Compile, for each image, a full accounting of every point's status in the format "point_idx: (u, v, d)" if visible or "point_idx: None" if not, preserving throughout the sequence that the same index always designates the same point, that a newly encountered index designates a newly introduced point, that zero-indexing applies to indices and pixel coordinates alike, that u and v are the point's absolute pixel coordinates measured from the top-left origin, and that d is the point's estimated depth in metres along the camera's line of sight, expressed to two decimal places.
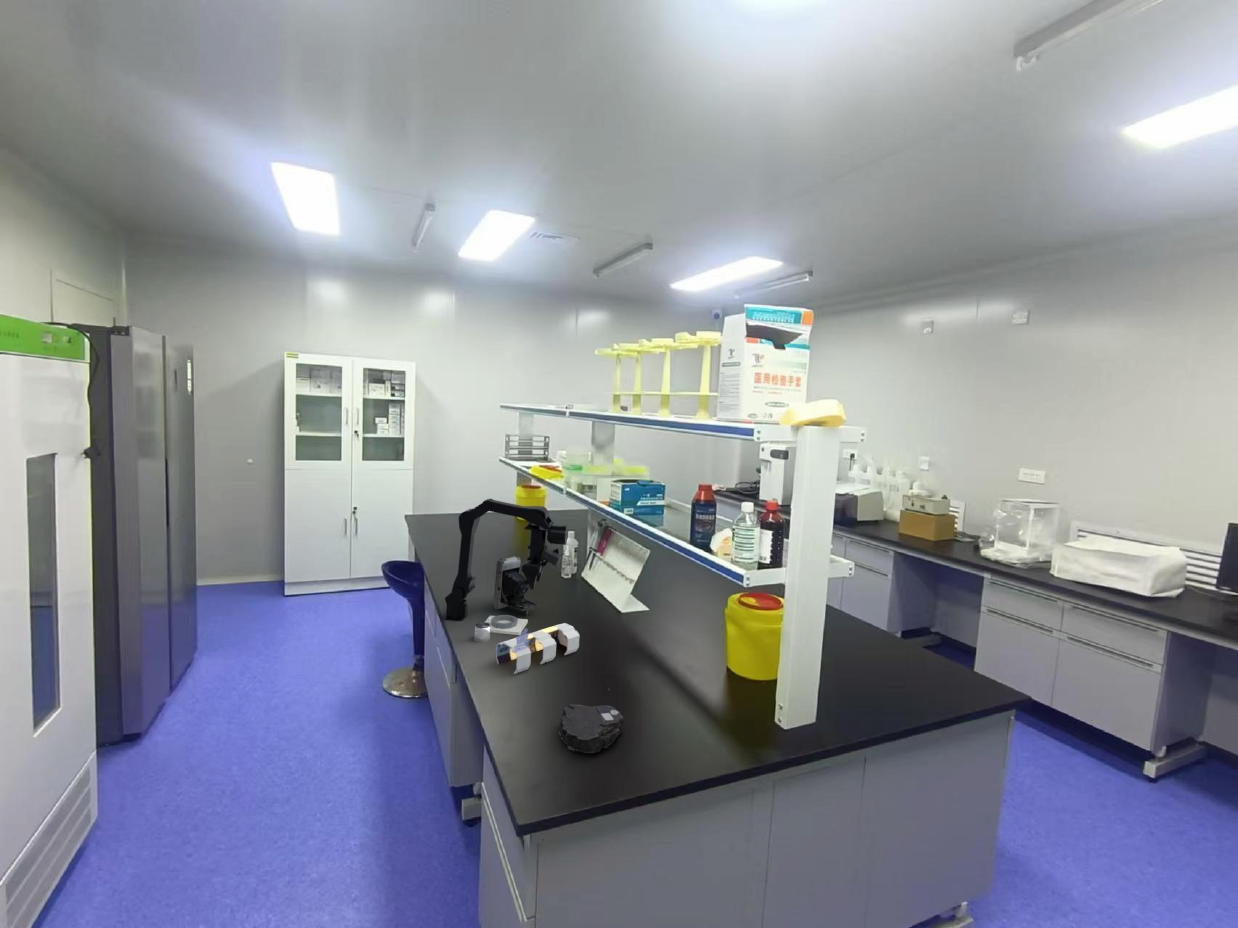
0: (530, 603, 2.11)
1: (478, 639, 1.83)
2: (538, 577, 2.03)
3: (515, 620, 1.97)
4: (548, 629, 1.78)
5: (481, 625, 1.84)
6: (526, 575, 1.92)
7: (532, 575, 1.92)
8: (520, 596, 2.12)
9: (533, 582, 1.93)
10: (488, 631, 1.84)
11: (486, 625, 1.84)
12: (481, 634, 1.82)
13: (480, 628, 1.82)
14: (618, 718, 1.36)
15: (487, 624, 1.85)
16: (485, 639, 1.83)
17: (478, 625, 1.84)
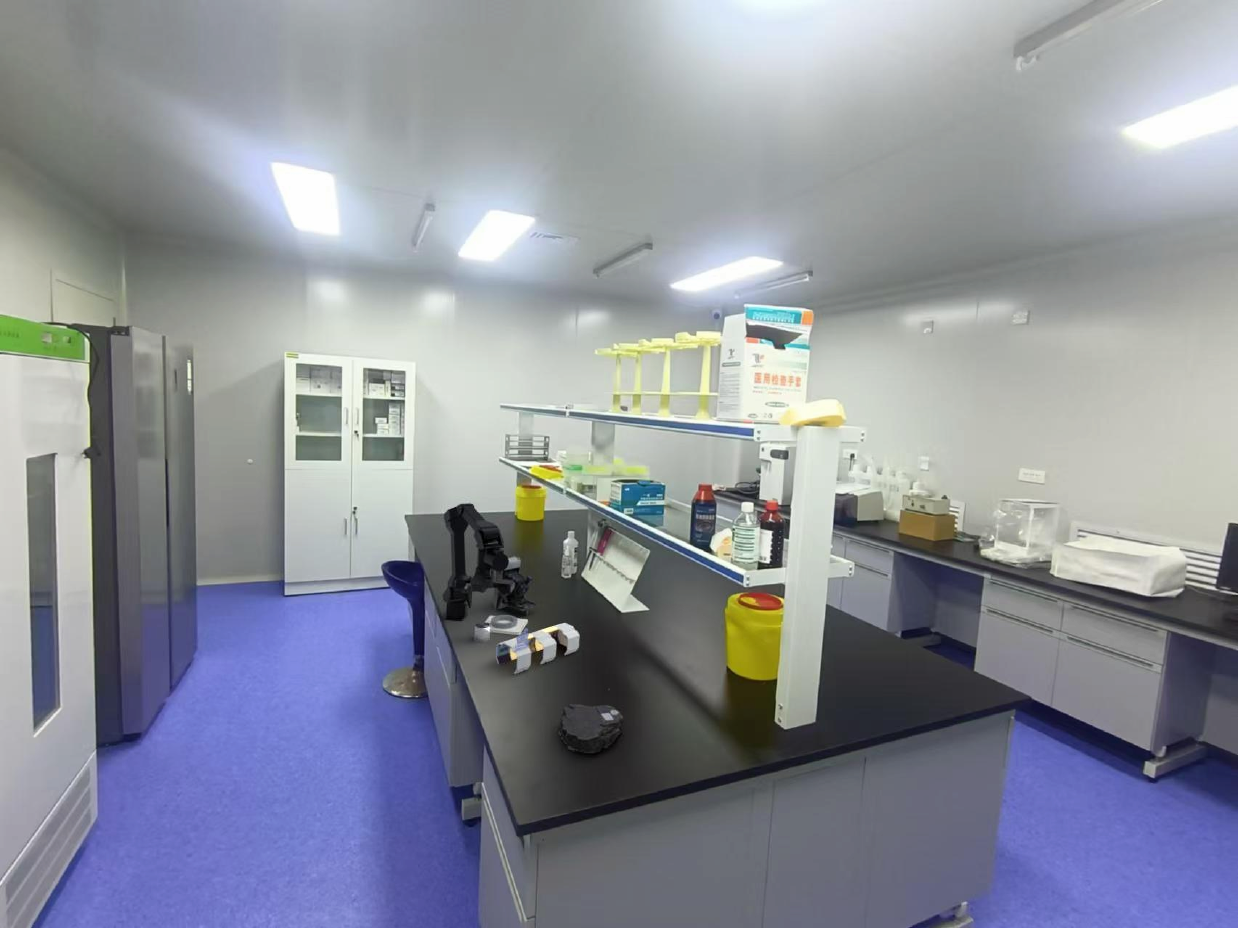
0: (530, 603, 2.11)
1: (478, 639, 1.83)
2: None
3: (515, 620, 1.97)
4: (548, 629, 1.78)
5: (481, 625, 1.84)
6: None
7: None
8: (520, 596, 2.12)
9: None
10: (488, 631, 1.84)
11: (486, 625, 1.84)
12: (481, 634, 1.82)
13: (480, 628, 1.82)
14: (618, 718, 1.36)
15: (487, 624, 1.85)
16: (485, 639, 1.83)
17: (478, 625, 1.84)
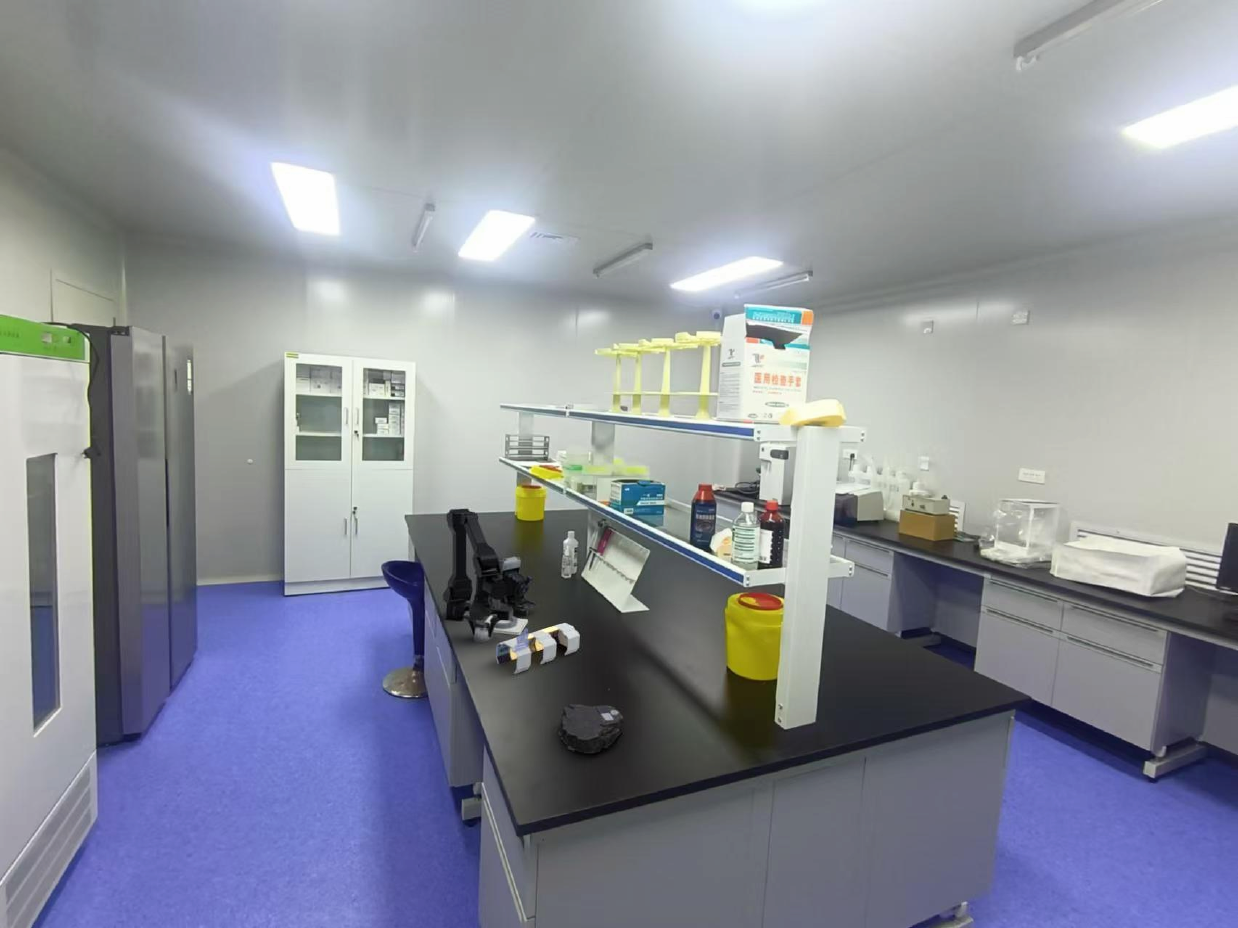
0: (530, 603, 2.11)
1: (478, 639, 1.83)
2: None
3: (515, 620, 1.97)
4: (548, 629, 1.78)
5: (481, 625, 1.84)
6: None
7: None
8: (520, 596, 2.12)
9: None
10: (488, 631, 1.84)
11: (486, 625, 1.84)
12: (481, 634, 1.82)
13: (480, 628, 1.82)
14: (618, 718, 1.36)
15: (487, 624, 1.85)
16: (485, 639, 1.83)
17: (478, 625, 1.84)
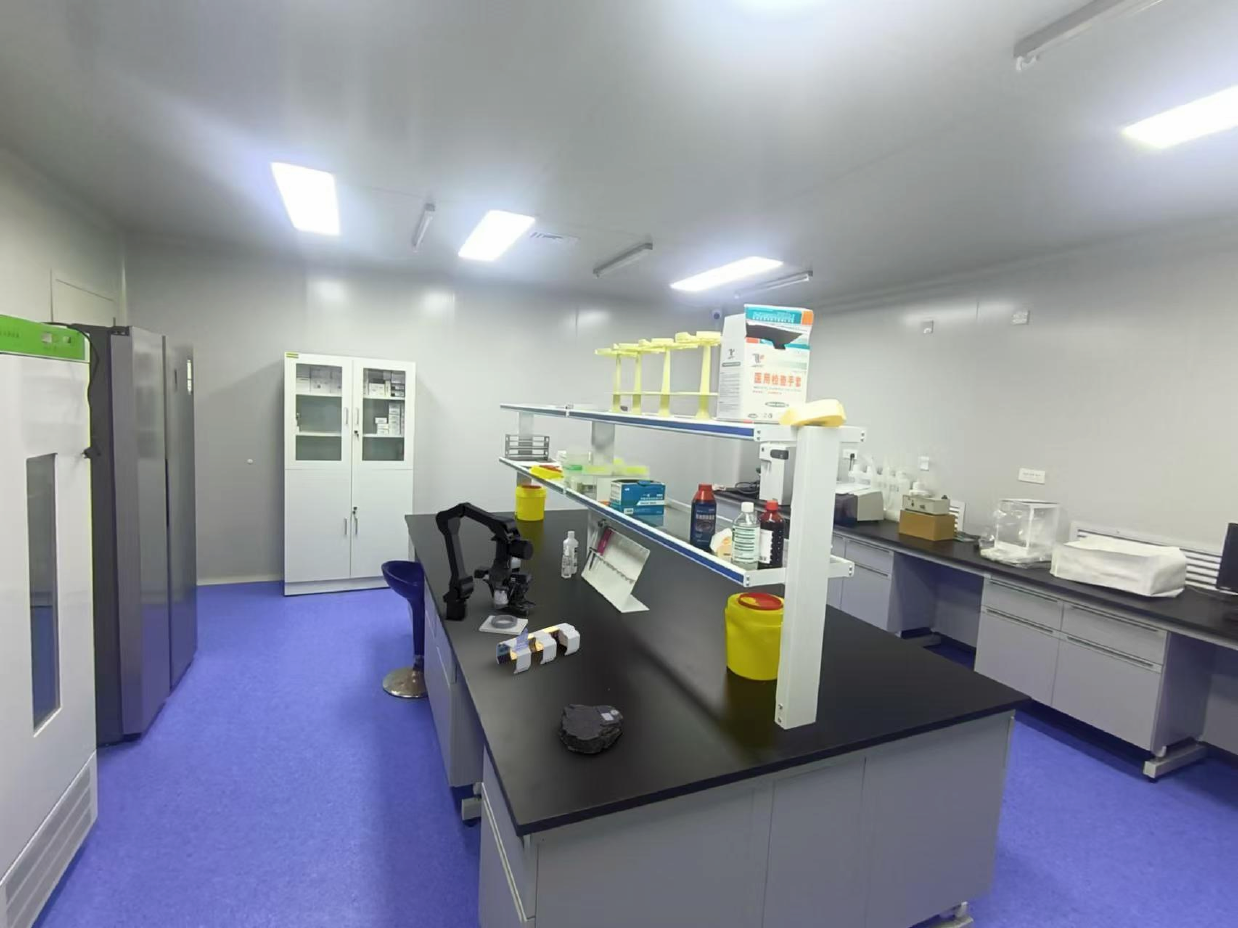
0: (530, 603, 2.11)
1: (496, 602, 1.91)
2: None
3: (515, 620, 1.97)
4: (548, 629, 1.78)
5: (500, 588, 1.92)
6: None
7: None
8: (520, 596, 2.12)
9: None
10: (506, 594, 1.92)
11: (505, 588, 1.92)
12: (499, 596, 1.90)
13: (499, 591, 1.90)
14: (618, 718, 1.36)
15: (506, 587, 1.93)
16: (504, 601, 1.91)
17: (497, 588, 1.92)
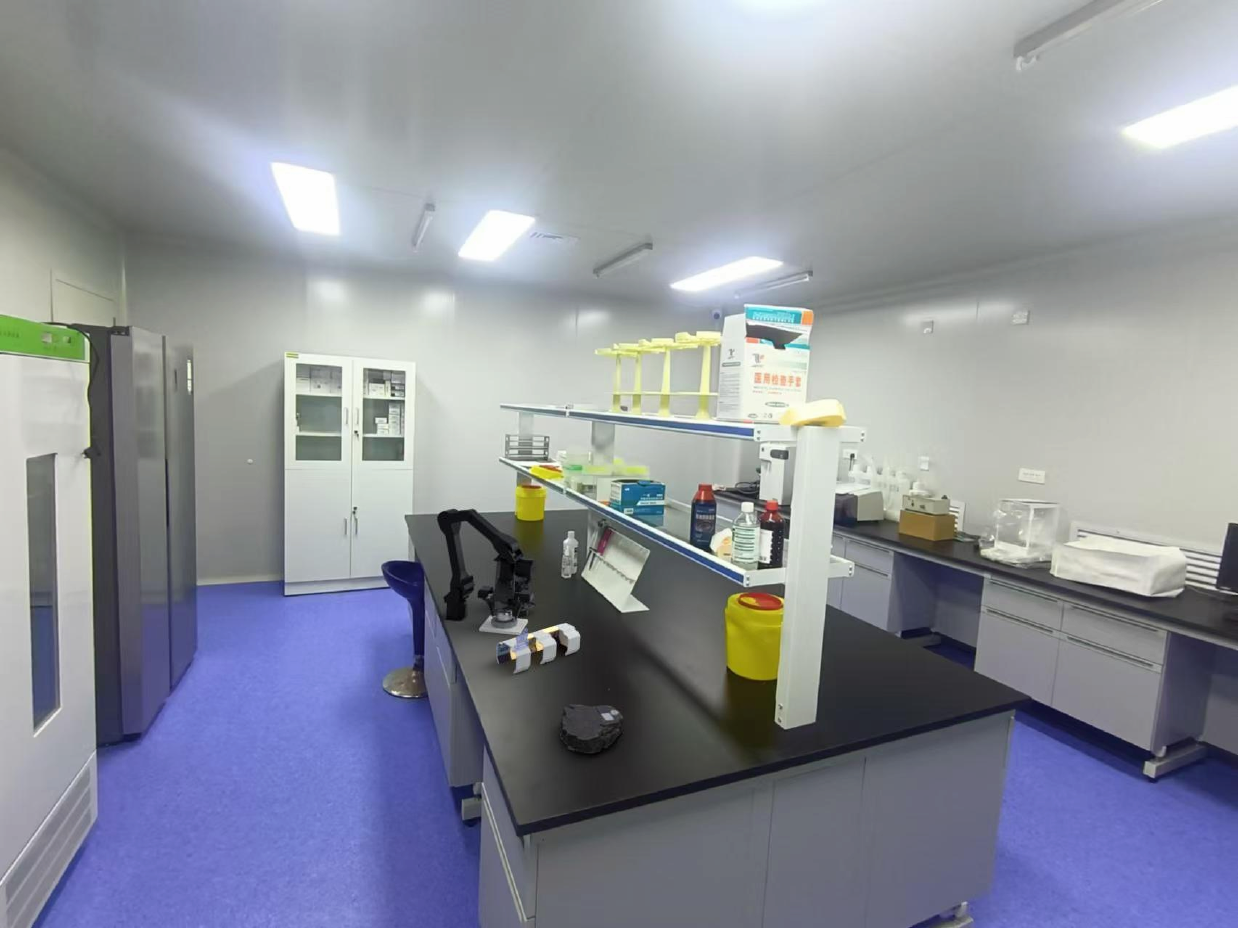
0: (530, 603, 2.11)
1: None
2: None
3: (515, 620, 1.97)
4: (549, 629, 1.78)
5: (503, 610, 1.95)
6: None
7: None
8: None
9: None
10: (510, 616, 1.95)
11: (508, 610, 1.96)
12: (503, 619, 1.94)
13: (502, 613, 1.94)
14: (618, 718, 1.36)
15: (509, 609, 1.97)
16: None
17: (500, 610, 1.95)
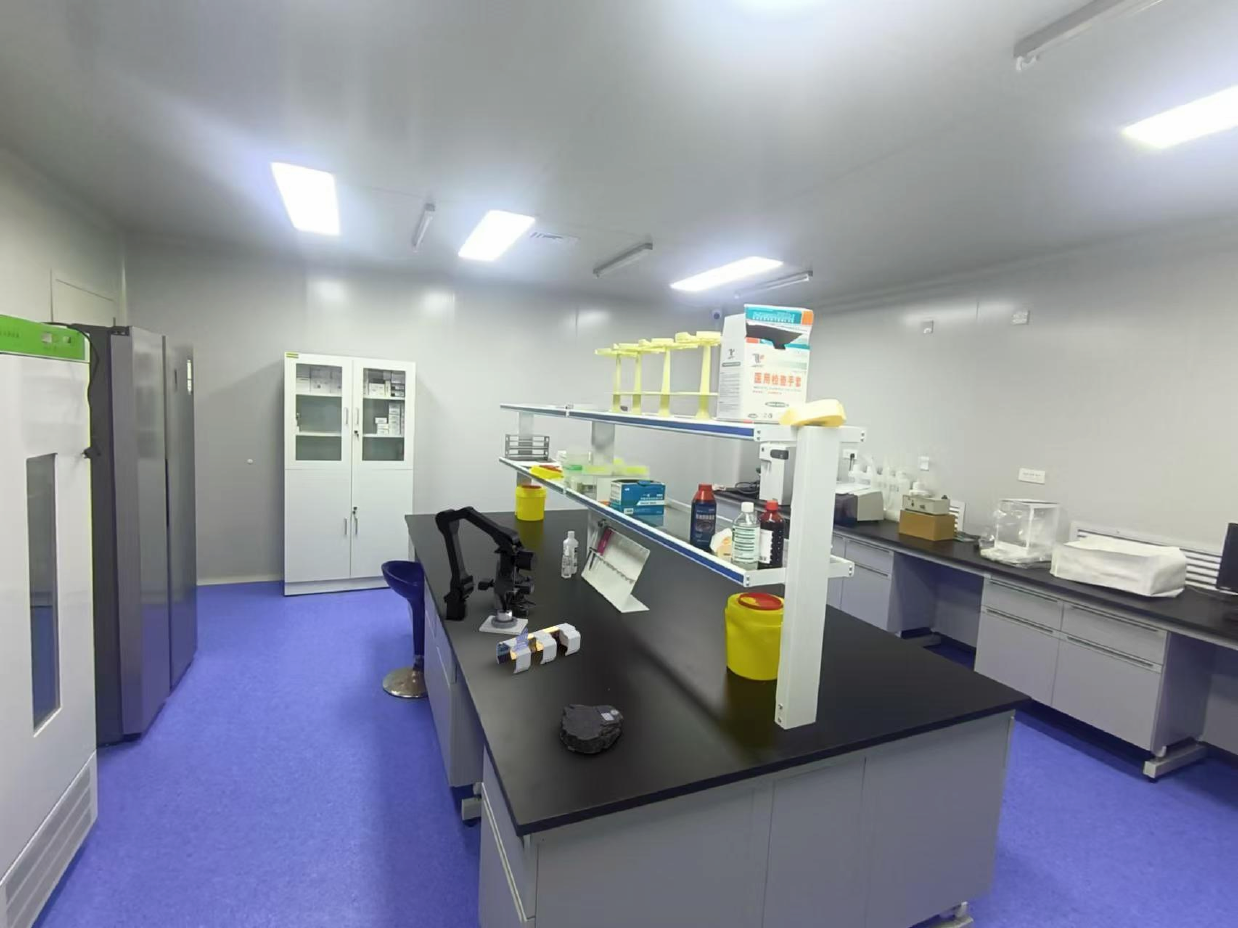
0: (530, 603, 2.11)
1: None
2: None
3: (515, 620, 1.97)
4: (549, 629, 1.78)
5: (503, 610, 1.95)
6: None
7: None
8: (520, 596, 2.12)
9: None
10: (510, 616, 1.95)
11: (508, 610, 1.96)
12: (503, 619, 1.94)
13: (502, 613, 1.94)
14: (618, 718, 1.36)
15: (509, 610, 1.96)
16: None
17: (500, 610, 1.95)
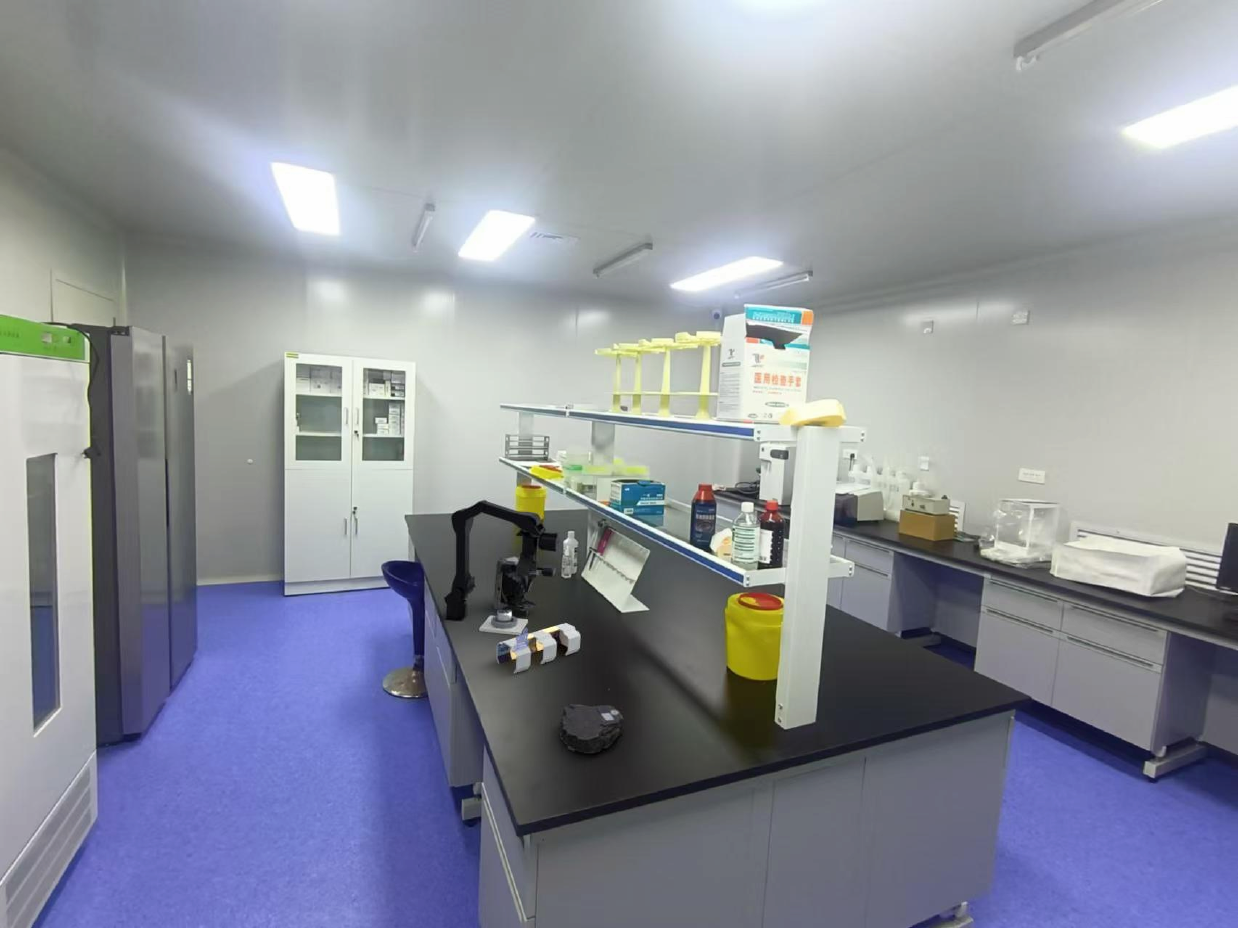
0: (530, 603, 2.11)
1: None
2: None
3: (515, 620, 1.97)
4: (549, 629, 1.78)
5: (503, 610, 1.95)
6: None
7: None
8: (520, 596, 2.12)
9: None
10: (510, 616, 1.95)
11: (508, 610, 1.96)
12: (503, 619, 1.94)
13: (502, 613, 1.94)
14: (618, 718, 1.36)
15: (509, 609, 1.96)
16: None
17: (500, 610, 1.95)
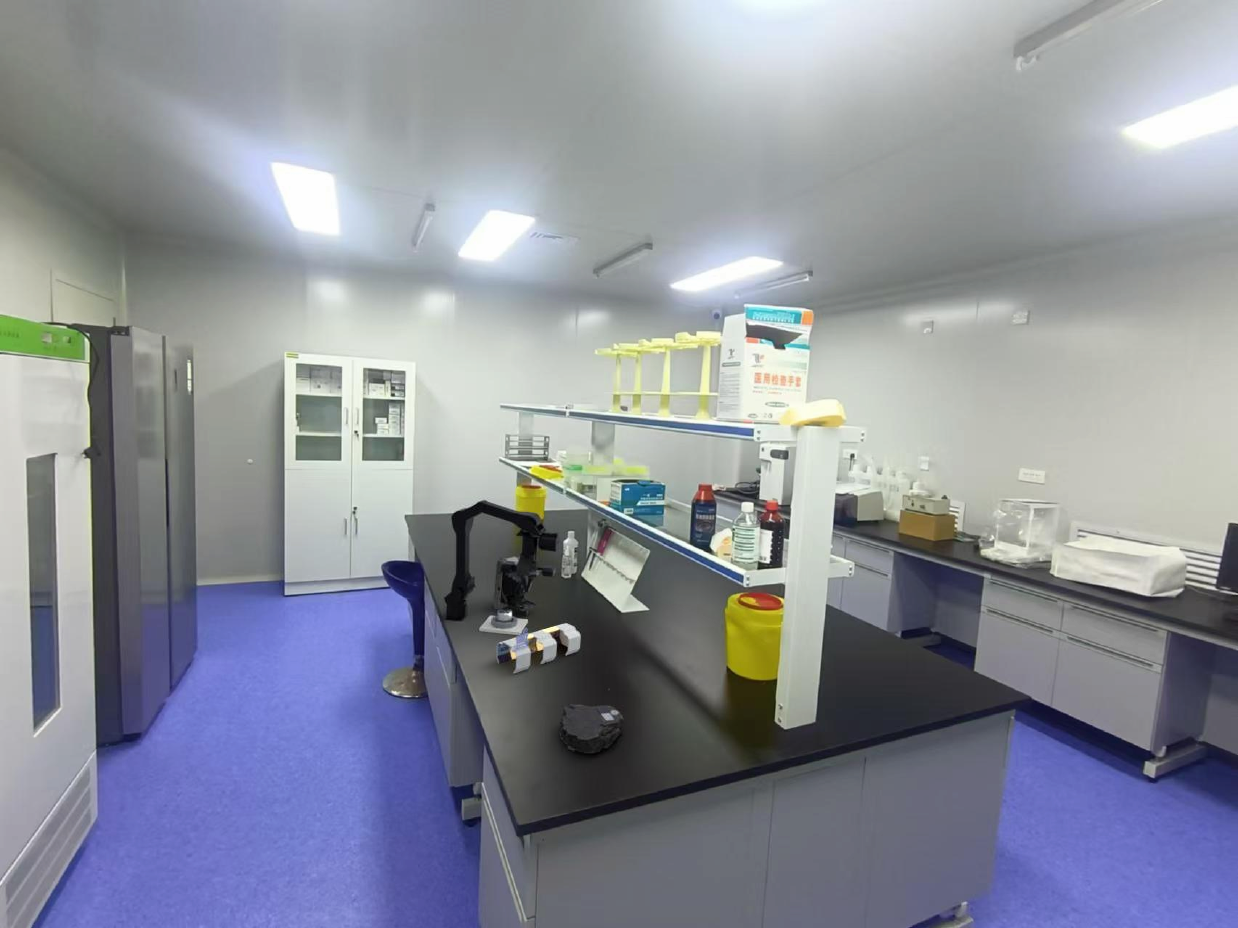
0: (530, 603, 2.11)
1: None
2: None
3: (515, 620, 1.97)
4: (549, 629, 1.78)
5: (503, 610, 1.95)
6: None
7: None
8: (520, 596, 2.12)
9: None
10: (510, 616, 1.95)
11: (508, 610, 1.96)
12: (503, 619, 1.94)
13: (502, 613, 1.94)
14: (618, 718, 1.36)
15: (509, 610, 1.96)
16: None
17: (500, 610, 1.95)
